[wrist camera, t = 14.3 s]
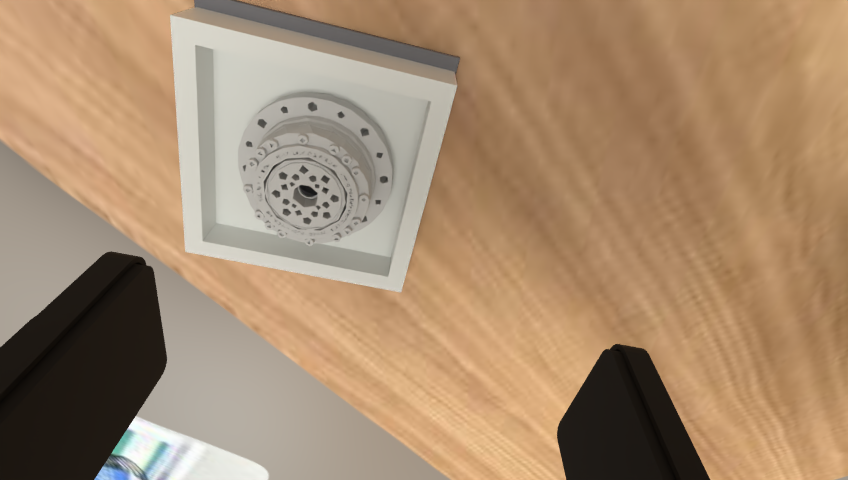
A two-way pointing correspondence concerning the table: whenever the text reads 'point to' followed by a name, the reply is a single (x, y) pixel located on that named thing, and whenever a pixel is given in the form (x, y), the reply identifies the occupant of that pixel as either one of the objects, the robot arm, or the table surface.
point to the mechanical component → (315, 168)
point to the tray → (316, 73)
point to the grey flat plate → (331, 32)
